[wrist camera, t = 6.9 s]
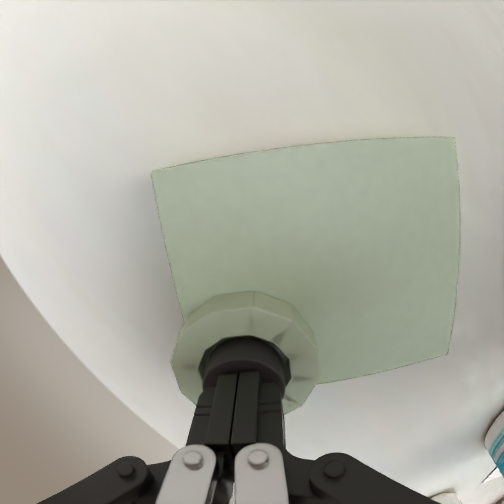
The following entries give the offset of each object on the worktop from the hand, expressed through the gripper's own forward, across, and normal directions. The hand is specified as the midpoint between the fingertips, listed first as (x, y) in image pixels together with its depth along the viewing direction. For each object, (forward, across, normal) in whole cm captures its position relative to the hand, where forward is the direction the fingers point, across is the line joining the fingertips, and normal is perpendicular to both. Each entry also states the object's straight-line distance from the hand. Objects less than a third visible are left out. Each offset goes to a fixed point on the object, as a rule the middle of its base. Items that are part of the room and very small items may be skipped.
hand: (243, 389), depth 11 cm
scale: (+5, -4, -3) cm, 7 cm away
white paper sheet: (+5, -32, +26) cm, 42 cm away
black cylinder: (+2, 0, 0) cm, 2 cm away
